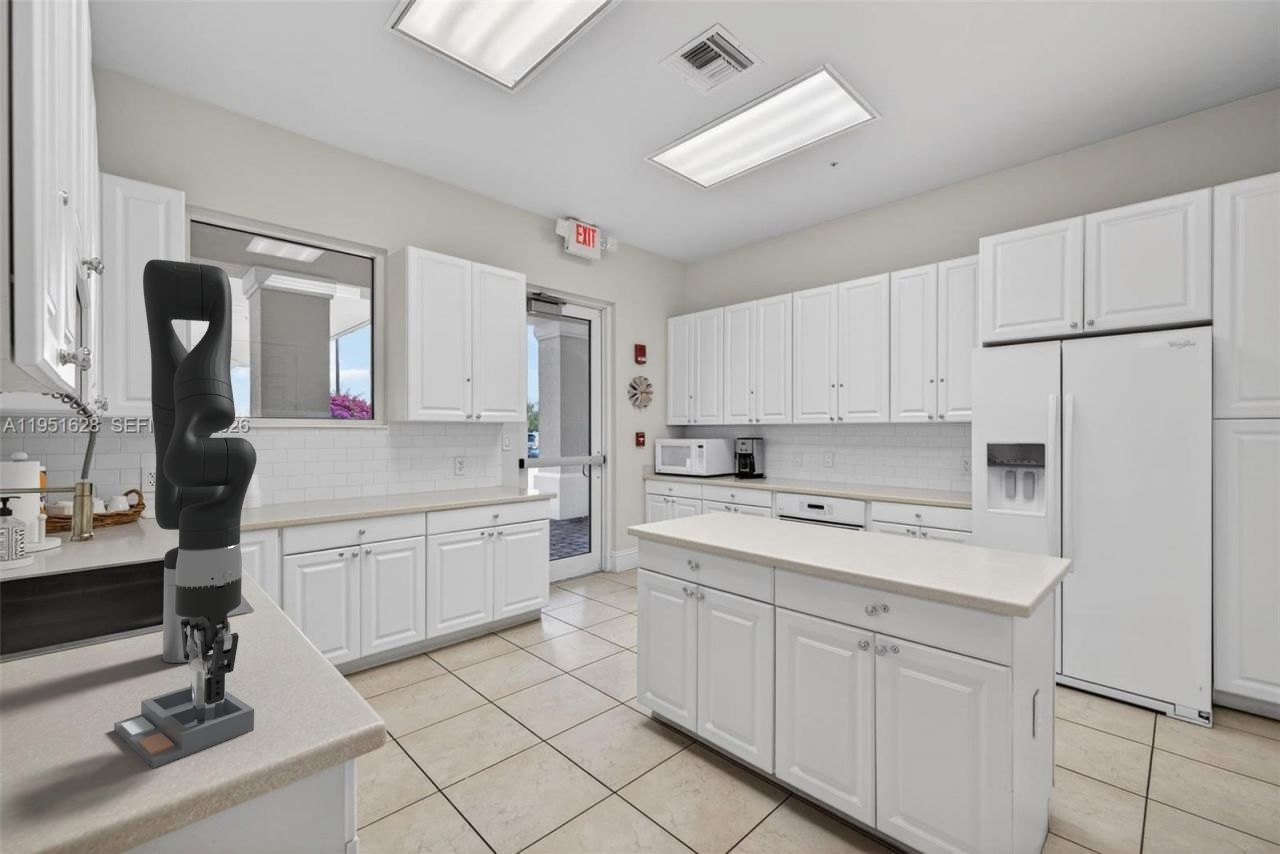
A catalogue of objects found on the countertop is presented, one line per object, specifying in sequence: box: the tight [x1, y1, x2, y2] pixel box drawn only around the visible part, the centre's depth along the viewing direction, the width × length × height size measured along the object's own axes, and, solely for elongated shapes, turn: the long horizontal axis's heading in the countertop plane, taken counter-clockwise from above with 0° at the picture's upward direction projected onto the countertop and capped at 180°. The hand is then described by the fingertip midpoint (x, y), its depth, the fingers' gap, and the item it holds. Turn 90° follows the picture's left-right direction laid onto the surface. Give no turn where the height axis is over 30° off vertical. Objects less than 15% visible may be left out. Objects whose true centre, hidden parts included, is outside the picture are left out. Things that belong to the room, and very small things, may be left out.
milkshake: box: [188, 653, 228, 724], centre depth 81 cm, size 4×5×10 cm
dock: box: [113, 685, 255, 769], centre depth 82 cm, size 16×12×3 cm
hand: (207, 696), depth 81 cm, fingers closed on milkshake, 4 cm apart
